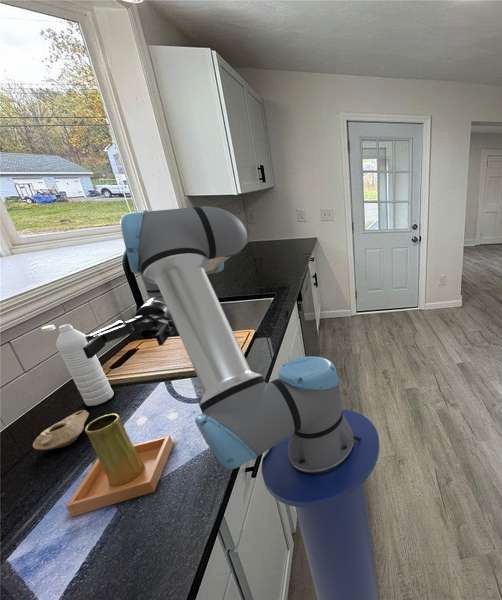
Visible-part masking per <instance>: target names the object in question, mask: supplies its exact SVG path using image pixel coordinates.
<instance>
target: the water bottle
mask: <svg viewBox="0 0 502 600" xmlns="http://www.w3.org/2000/svg"><path fill="white" fill-rule="evenodd" d="M73 327H74V326H72V324H71V323H65V324H62V325H60V326H59V327H58V331H59V335H58V337H57V338H56V343H55V346H56V349H57V350H58V352H59V355H60V356H61V358H62V360H63V363H64V364H65V366H66V368H67V370H68V373H69V374H70V376H71V379H72V380H73V382H74V384H75V386H76V388H77V391H78V392H79V394H80V396H81V397H82V400H83V402H84V405H86V406H88V407H94V406H98V405H101V404H104V403H106V402H108V401H109V400H111V399H112V398H113V397H114V395H115V394H114V393H115V392H114V390H113V388H112V387H111V384H110V382H109V380H108V377H107V376H106V373H105V372H104V369H103V367H102V365H101V362H100V361H99V359H98V356H97V354H96V355H94V356H93V357H92V358H89V359H87V357H86V354H85V352H84V350H83V347H85V346H86V345H87V343H88V342H87V340H86V338H85V336H87V334H85V333H83V332H82V331H80V330H78V329H75V328H73ZM40 329H41V331H42V332H43V333H45V332H51V331H53V330H55V329H56V326H55V324H49V325H45V326H42V327H41V328H40Z"/></svg>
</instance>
